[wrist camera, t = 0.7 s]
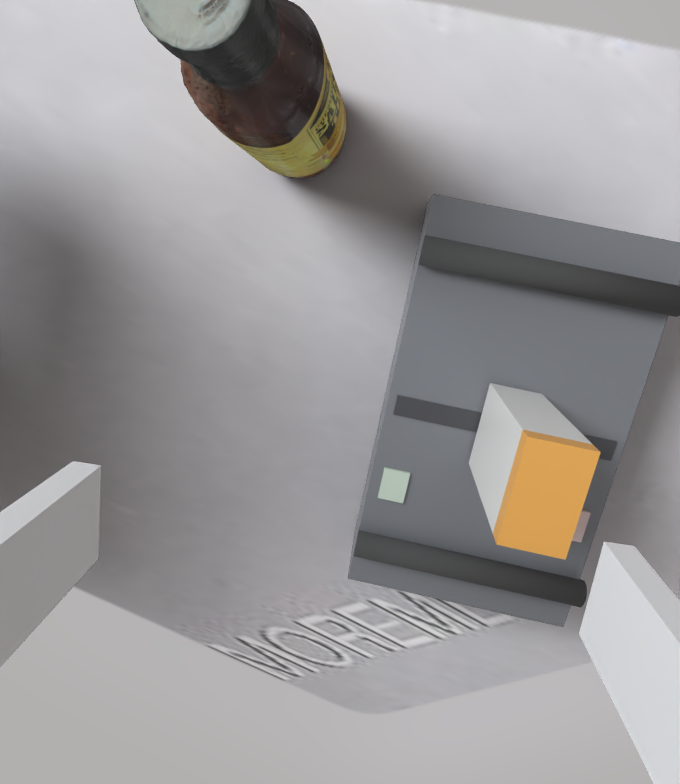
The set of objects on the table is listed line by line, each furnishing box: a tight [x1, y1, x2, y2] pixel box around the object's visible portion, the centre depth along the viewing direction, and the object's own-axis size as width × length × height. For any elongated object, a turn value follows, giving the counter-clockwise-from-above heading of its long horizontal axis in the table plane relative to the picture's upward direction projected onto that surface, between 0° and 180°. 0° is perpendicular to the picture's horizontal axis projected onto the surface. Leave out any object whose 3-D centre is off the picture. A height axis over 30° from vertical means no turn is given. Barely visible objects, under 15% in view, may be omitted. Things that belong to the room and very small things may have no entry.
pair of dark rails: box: [354, 235, 680, 607], centre depth 34 cm, size 14×20×2 cm
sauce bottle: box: [134, 0, 346, 178], centre depth 28 cm, size 6×6×20 cm
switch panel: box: [348, 194, 680, 627], centre depth 37 cm, size 14×24×6 cm, turn 169°
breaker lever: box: [469, 383, 601, 560], centre depth 29 cm, size 3×5×10 cm, turn 169°
